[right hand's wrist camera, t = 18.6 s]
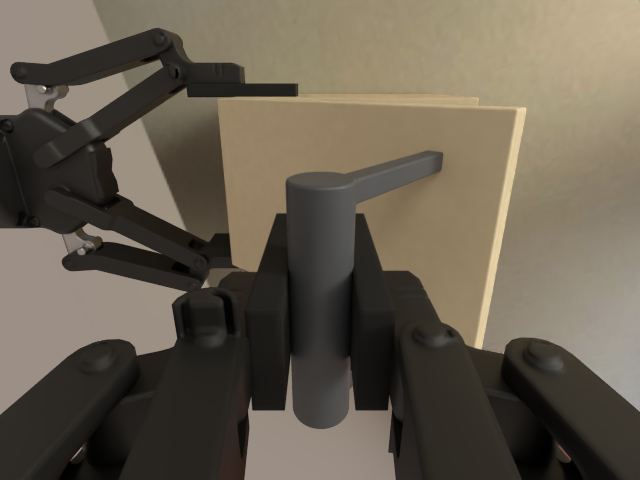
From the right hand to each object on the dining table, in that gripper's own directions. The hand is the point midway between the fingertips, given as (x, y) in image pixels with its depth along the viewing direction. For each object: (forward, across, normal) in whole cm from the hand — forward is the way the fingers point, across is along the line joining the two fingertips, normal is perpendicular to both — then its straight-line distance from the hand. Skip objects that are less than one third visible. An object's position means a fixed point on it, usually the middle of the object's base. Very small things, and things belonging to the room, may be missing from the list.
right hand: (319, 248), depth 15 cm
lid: (+5, +1, 0) cm, 5 cm away
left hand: (+13, -2, 0) cm, 13 cm away
